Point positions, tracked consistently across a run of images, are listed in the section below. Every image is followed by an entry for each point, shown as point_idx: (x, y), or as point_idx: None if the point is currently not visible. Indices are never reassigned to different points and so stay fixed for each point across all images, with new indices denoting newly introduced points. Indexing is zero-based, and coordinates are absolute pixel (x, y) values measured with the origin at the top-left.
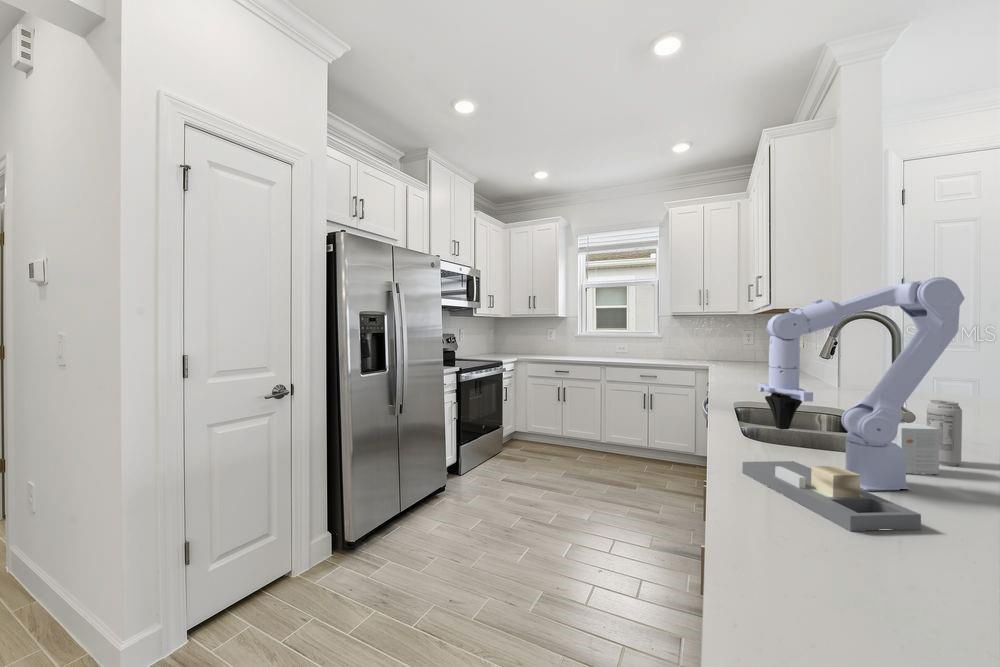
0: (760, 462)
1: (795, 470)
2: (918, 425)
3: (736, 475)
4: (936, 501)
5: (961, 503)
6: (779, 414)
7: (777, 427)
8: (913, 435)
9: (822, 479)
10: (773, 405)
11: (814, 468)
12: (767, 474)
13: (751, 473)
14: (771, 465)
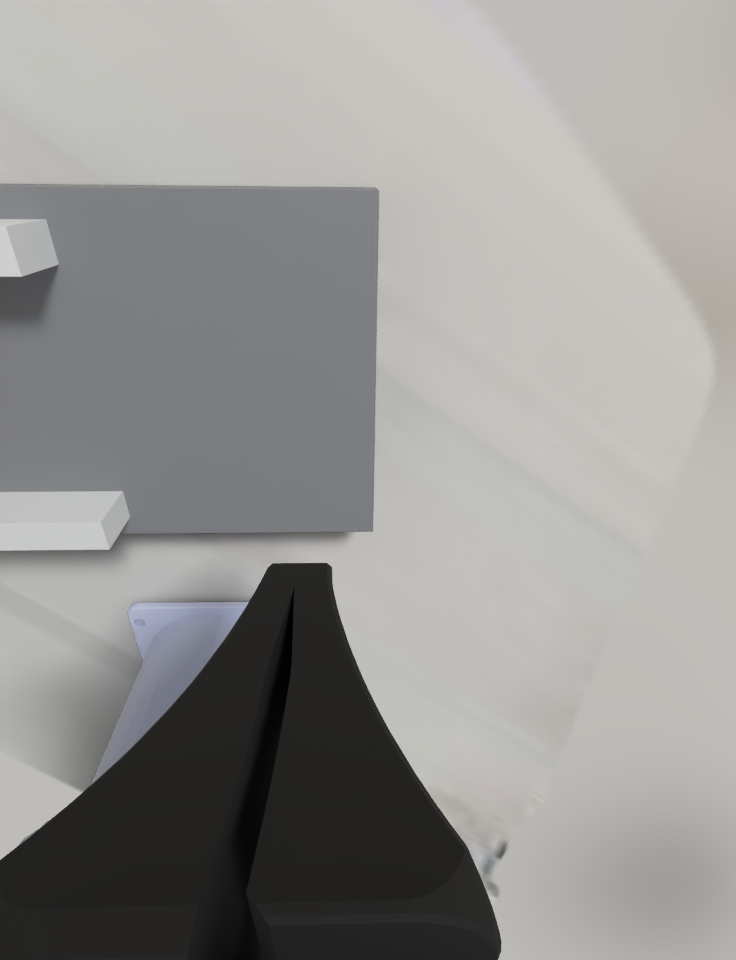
0: (358, 326)
1: (200, 434)
2: None
3: (327, 98)
4: (77, 713)
5: (76, 750)
6: (204, 675)
7: (307, 567)
8: None
9: None
10: (274, 770)
11: None
12: (82, 188)
13: (272, 187)
14: (292, 357)
